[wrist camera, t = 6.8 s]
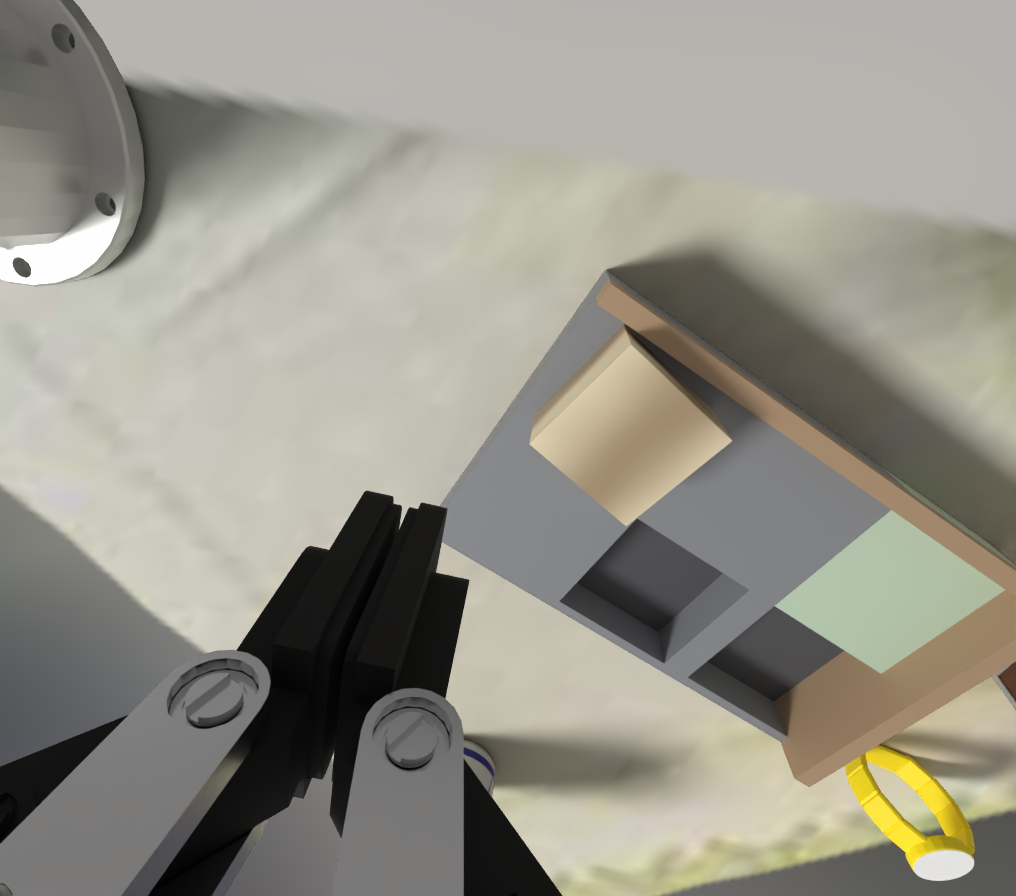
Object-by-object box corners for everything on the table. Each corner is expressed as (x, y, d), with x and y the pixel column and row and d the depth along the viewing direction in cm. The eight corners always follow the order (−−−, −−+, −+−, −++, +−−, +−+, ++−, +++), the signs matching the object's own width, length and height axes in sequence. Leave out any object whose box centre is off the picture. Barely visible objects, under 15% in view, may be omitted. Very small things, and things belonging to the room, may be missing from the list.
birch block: (534, 414, 22) (529, 444, 19) (623, 324, 20) (631, 344, 17) (620, 487, 23) (626, 526, 20) (712, 409, 21) (732, 441, 18)
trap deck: (440, 506, 28) (416, 559, 23) (605, 269, 22) (612, 286, 18) (778, 709, 31) (809, 787, 27) (1001, 552, 25) (1083, 620, 21)
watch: (936, 752, 31) (1017, 869, 26) (902, 778, 33) (974, 895, 27) (851, 723, 31) (917, 837, 25) (820, 750, 32) (877, 865, 26)
